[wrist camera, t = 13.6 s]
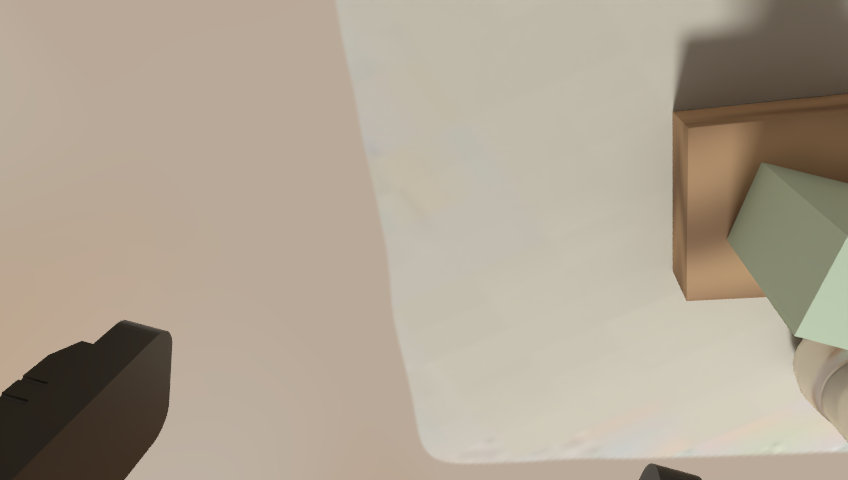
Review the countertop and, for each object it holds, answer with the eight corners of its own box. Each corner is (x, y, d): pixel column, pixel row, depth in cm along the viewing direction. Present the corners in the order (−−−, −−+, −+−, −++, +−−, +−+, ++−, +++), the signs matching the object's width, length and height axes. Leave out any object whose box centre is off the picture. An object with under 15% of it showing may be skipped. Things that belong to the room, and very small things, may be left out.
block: (726, 239, 35) (794, 336, 26) (761, 162, 33) (847, 236, 24) (809, 261, 35) (907, 365, 26) (849, 183, 33) (969, 267, 24)
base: (672, 111, 37) (688, 127, 33) (868, 91, 35) (907, 106, 31) (672, 270, 41) (686, 300, 37) (849, 260, 39) (882, 290, 35)
